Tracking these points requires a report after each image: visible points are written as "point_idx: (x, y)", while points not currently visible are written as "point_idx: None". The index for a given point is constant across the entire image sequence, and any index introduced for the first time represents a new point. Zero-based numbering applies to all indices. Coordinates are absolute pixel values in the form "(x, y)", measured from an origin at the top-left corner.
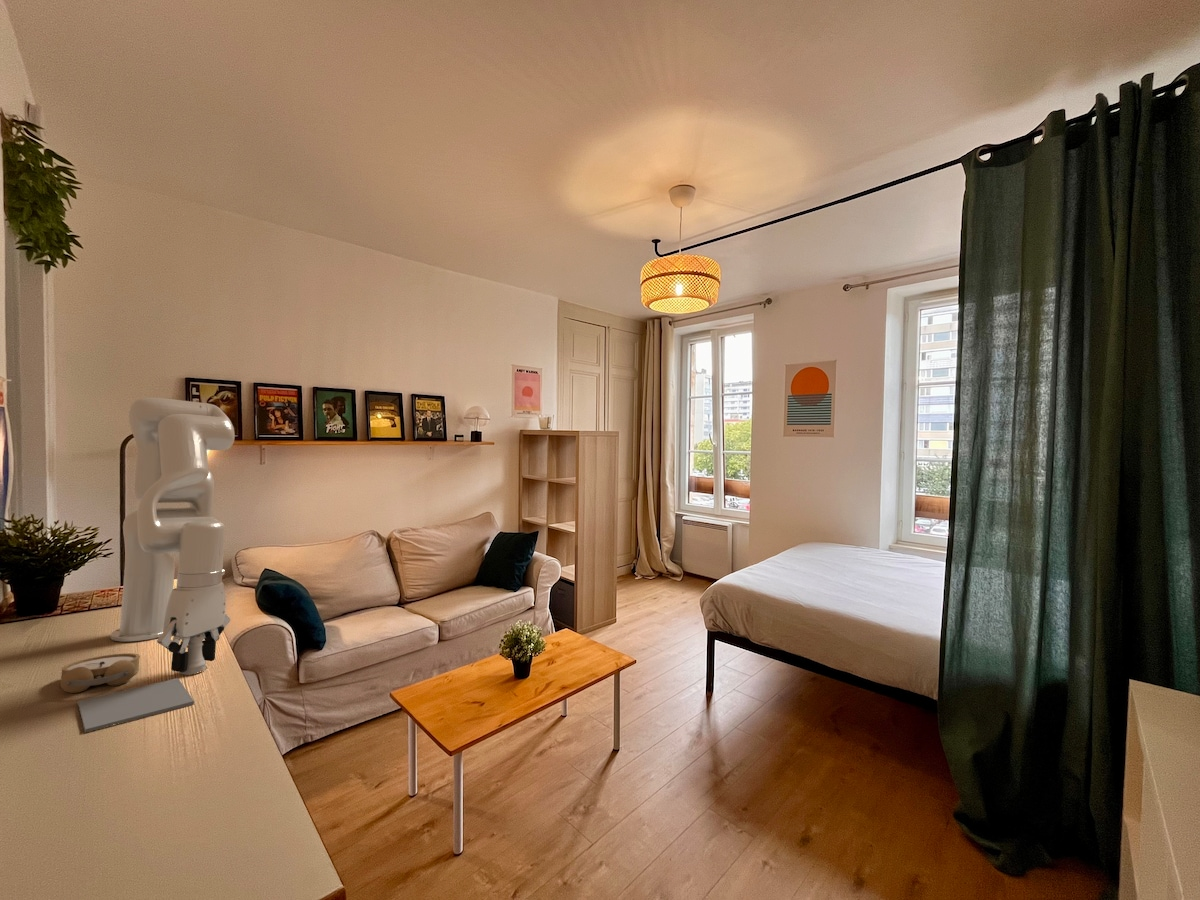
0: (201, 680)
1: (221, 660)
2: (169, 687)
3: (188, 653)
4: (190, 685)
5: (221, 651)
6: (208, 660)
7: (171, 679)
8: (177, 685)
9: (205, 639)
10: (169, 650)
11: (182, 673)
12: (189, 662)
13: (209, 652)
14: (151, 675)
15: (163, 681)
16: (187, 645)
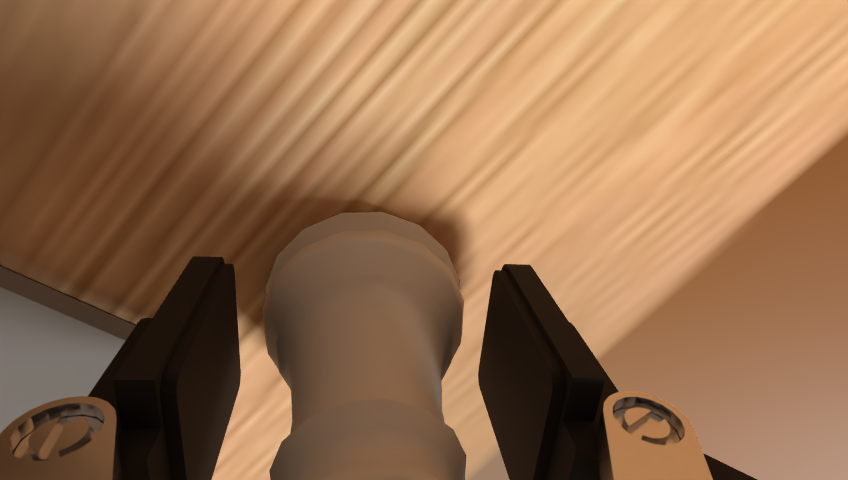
0: (247, 466)
1: (618, 297)
2: None
3: (294, 410)
4: None
5: (837, 124)
6: (481, 355)
7: (120, 341)
8: None
9: (570, 454)
10: (11, 431)
11: (267, 294)
12: (287, 382)
13: (501, 409)
14: (178, 3)
15: (60, 319)
16: (306, 441)
